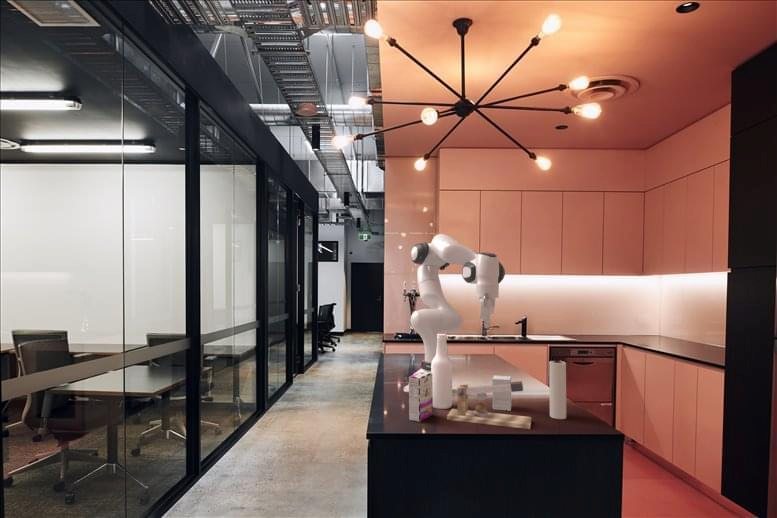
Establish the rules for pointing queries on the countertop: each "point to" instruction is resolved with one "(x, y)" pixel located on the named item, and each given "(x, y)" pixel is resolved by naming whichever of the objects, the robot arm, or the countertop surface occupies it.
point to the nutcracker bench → (486, 420)
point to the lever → (494, 389)
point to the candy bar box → (420, 396)
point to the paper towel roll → (557, 389)
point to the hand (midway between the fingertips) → (486, 327)
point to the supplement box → (502, 394)
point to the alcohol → (441, 375)
